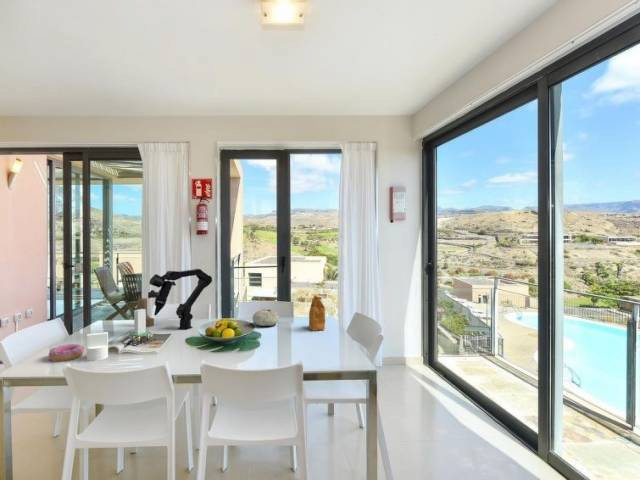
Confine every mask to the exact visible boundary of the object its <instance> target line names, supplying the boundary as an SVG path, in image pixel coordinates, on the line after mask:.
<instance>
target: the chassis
mask: <svg viewBox="0 0 640 480" xmlns="http://www.w3.org/2000/svg"><path fill="white" fill-rule="evenodd" d="M150 335H151V334H148V335H144V336H141V337H137V339H136V340H134V341H132V342H130V343H132V344H136V345H139V344H142V343H145V342H149V341H152V340H156V341H157V338H156V337H153V336H151V337H150ZM133 338H134V336H131V335H129V339H133ZM149 343H150V342H149Z"/></svg>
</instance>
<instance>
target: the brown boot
mask: <svg viewBox="0 0 640 480" xmlns="http://www.w3.org/2000/svg"><path fill="white" fill-rule="evenodd" d="M139 309H146V327H152V326H154V325H155V319H154V318H153V317H150V316H149V315H148V297H147V298H146V297H145V298H139V299H137V310H139Z"/></svg>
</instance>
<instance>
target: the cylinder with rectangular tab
mask: <svg viewBox="0 0 640 480" xmlns="http://www.w3.org/2000/svg"><path fill="white" fill-rule="evenodd" d="M108 357H109V332H108V331H104V332H95V333H94V332H93V333H87V334H86V361H89V362H95V361H101V360H104V359H107V358H108Z"/></svg>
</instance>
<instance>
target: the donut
mask: <svg viewBox="0 0 640 480" xmlns="http://www.w3.org/2000/svg"><path fill="white" fill-rule="evenodd" d="M84 351H85V350H84V347H83V345H81V344H77V343H72V344H64V345H59V346H56V347H53V348H51V349H50V350H49V353H48V358H49V359H50V360H51V361H53V362H67V361H72V360H75V359H78V358H80V357H82V355H83V354H84Z"/></svg>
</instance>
